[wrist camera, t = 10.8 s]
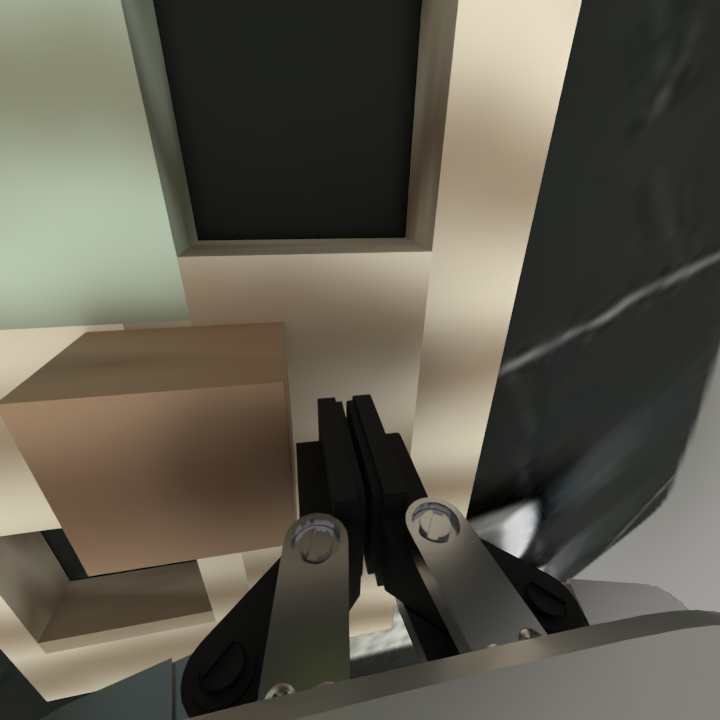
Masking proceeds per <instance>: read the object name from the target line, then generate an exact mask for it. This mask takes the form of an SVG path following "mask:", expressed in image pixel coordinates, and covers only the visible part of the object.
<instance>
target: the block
mask: <svg viewBox="0 0 720 720" xmlns="http://www.w3.org/2000/svg"><path fill="white" fill-rule="evenodd" d="M0 416H1V418H2V420H3V422H4V423H5V425H6V427H7V429H8V431H9V433H10V434H11V436H12V438H13V440H14V442H15V443H16V445H17V447H18V449H19V451H20V453H21V454H22V456H23V458H24V460H25V462H26V463H27V465H28V467H29V469H30V471H31V473H32V474H33V476H34V478H35V480H36V482H37V483H38V485H39V487H40V489H41V491H42V493H43V494H44V496H45V498H46V500H47V502H48V504H49V505H50V507H51V509H52V511H53V513H54V514H55V516H56V518H57V520H58V522H59V524H60V525H61V527H62V529H63V531H64V533H65V534H66V536H67V538H68V540H69V542H70V544H71V545H72V547H73V549H74V551H75V553H76V554H77V556H78V558H79V560H80V562H81V564H82V565H83V567H84V569H85V571H86V573H87V574H88V576H95V575H101V574H107V573H114V572H120V571H126V570H133V569H139V568H145V567H152V566H158V565H164V564H171V563H177V562H184V561H190V560H196V559H203V558H209V557H215V556H222V555H228V554H234V553H241V552H247V551H253V550H260V549H266V548H272V547H279V546H283V541H284V538H285V535H286V532H287V531H288V529H289V528H290V526H291V525H292V524H293V523H294V522H295V521H297V500H296V473H295V452H294V441H293V429H292V418H291V406H290V394H289V383H288V371H287V360H286V348H285V336H284V325H283V322H275V323H255V324H235V325H215V326H195V327H174V328H154V329H134V330H114V331H95V332H85V333H84V334H83V335H82V336H80V337H79V338H78V339H76V340H75V341H74V342H73V343H71V344H70V345H69V346H68V347H66V348H65V349H64V350H63V351H61V352H60V353H59V354H58V355H56V356H55V357H54V358H53V359H51V360H50V361H49V362H47V363H46V364H45V365H44V366H42V367H41V368H40V369H39V370H37V371H36V372H35V373H34V374H32V375H31V376H30V377H29V378H27V379H26V380H25V381H24V382H22V383H21V384H20V385H18V386H17V387H16V388H15V389H13V390H12V391H11V392H10V393H8V394H7V395H6V396H5V397H3V398H2V399H1V400H0Z"/></svg>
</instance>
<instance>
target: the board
mask: <svg viewBox="0 0 720 720" xmlns="http://www.w3.org/2000/svg"><path fill="white" fill-rule="evenodd" d="M581 1H582V0H422V9H421V23H420V37H419V51H418V65H417V79H416V94H415V108H414V122H413V136H412V150H411V164H410V178H409V193H408V207H407V221H406V235H405V238H351V239H280V240H209V241H198V238H197V233H196V228H195V222H194V217H193V212H192V206H191V201H190V196H189V190H188V185H187V180H186V174H185V169H184V164H183V158H182V153H181V148H180V142H179V137H178V132H177V126H176V121H175V116H174V110H173V105H172V100H171V94H170V89H169V84H168V78H167V73H166V68H165V62H164V57H163V52H162V46H161V41H160V36H159V30H158V25H157V20H156V14H155V9H154V4H153V0H0V400H1V399H2V398H3V397H5V396H6V395H7V394H8V393H10V392H11V391H12V390H13V389H15V388H16V387H17V386H18V385H20V384H21V383H22V382H24V381H25V380H26V379H27V378H29V377H30V376H31V375H32V374H34V373H35V372H36V371H37V370H39V369H40V368H41V367H42V366H44V365H45V364H46V363H47V362H49V361H50V360H51V359H53V358H54V357H55V356H56V355H58V354H59V353H60V352H61V351H63V350H64V349H65V348H66V347H68V346H69V345H70V344H71V343H73V342H74V341H75V340H76V339H78V338H79V337H80V336H82V335H83V334H84V333H85V332H95V331H114V330H134V329H154V328H174V327H195V326H215V325H235V324H255V323H275V322H283V325H284V336H285V348H286V360H287V371H288V383H289V394H290V406H291V418H292V429H293V441H294V452H295V473H296V500H297V520H298V519H299V497H298V475H297V453H296V443H302V442H311V441H319V431H318V404H317V399H319V398H331V397H335V400H336V402H338V401H342V403H343V407H344V411H345V415H346V402H347V401H349V400H352V397H353V396H355V395H366V394H370V395H371V397H372V400H373V402H374V405H375V407H376V410H377V412H378V415H379V418H380V420H381V423H382V425H383V428H384V430H385V433H386V434H387V433H397V432H398V433H399V434H400V435H401V437H402V439H403V441H404V444H405V446H406V448H407V450H408V453H409V455H410V457H411V459H412V462H413V464H414V466H415V468H416V471H417V473H418V475H419V477H420V480H421V482H422V484H423V486H424V488H425V491H426V493H427V495H428V497H433V498H440V499H442V500H445V501H448V502H449V503H451V504H452V505H454V506H455V507H456V508H457V509H458V510H459V511H460V512H461V513H462V514H463V516H464V517H465V519H466V515H467V510H468V506H469V501H470V497H471V492H472V488H473V484H474V479H475V475H476V470H477V466H478V461H479V457H480V452H481V448H482V443H483V439H484V434H485V430H486V425H487V421H488V417H489V412H490V408H491V403H492V399H493V394H494V390H495V385H496V381H497V376H498V372H499V367H500V363H501V358H502V354H503V350H504V345H505V341H506V336H507V332H508V327H509V323H510V318H511V314H512V309H513V305H514V300H515V296H516V291H517V287H518V283H519V278H520V274H521V269H522V265H523V260H524V256H525V251H526V247H527V242H528V238H529V233H530V229H531V224H532V220H533V216H534V211H535V207H536V202H537V198H538V193H539V189H540V184H541V180H542V175H543V171H544V166H545V162H546V157H547V153H548V149H549V144H550V140H551V135H552V131H553V126H554V122H555V117H556V113H557V108H558V104H559V99H560V95H561V90H562V86H563V82H564V77H565V73H566V68H567V64H568V59H569V55H570V50H571V46H572V41H573V37H574V32H575V28H576V23H577V19H578V15H579V10H580V6H581ZM57 528H62V527H61V525H60V524H59V522H58V520H57V518H56V516H55V514H54V513H53V511H52V509H51V507H50V505H49V504H48V502H47V500H46V498H45V496H44V494H43V493H42V491H41V489H40V487H39V485H38V483H37V482H36V480H35V478H34V476H33V474H32V473H31V471H30V469H29V467H28V465H27V463H26V462H25V460H24V458H23V456H22V454H21V453H20V451H19V449H18V447H17V445H16V443H15V442H14V440H13V438H12V436H11V434H10V433H9V431H8V429H7V427H6V425H5V423H4V422H3V420H2V418H1V416H0V649H1V650H2V651H3V652H4V653H5V655H6V656H7V657H8V658H9V659H10V660H11V661H12V663H13V664H14V665H15V666H16V667H17V668H18V669H19V670H20V672H21V673H22V674H23V675H24V676H25V677H26V678H27V680H28V681H29V682H30V683H31V684H32V685H33V686H34V687H35V689H36V690H37V691H38V692H39V693H40V694H41V695H42V696H43V698H44V699H45V700H46V701H52V700H57V699H61V698H66V697H71V696H75V695H80V694H85V693H90V692H94V691H98V690H100V689H102V688H105V687H107V686H109V685H111V684H114V683H116V682H118V681H120V680H123V679H125V678H127V677H129V676H132V675H134V674H136V673H138V672H141V671H143V670H145V669H147V668H150V667H152V666H154V665H156V664H159V663H161V662H163V661H165V660H168V659H170V658H172V659H173V661H174V662H175V661H177V660H179V659H182V658H184V657H186V656H188V655H190V654H192V653H193V652H194V651H195V649H196V648H197V647H198V645H199V644H200V643H201V642H202V641H203V639H204V638H205V637H206V636H207V635H208V634H209V633H210V632H211V631H212V630H213V629H214V628H215V627H216V625H217V624H218V623H219V622H220V621H221V620H222V619H223V618H224V617H225V616H226V615H227V614H228V613H229V612H230V610H231V609H232V608H233V607H234V606H235V605H236V604H237V603H238V602H239V601H240V600H241V599H242V598H243V597H244V595H245V594H246V593H247V592H248V591H249V590H250V589H251V588H252V587H253V586H254V585H255V584H256V583H257V581H258V580H259V579H260V578H261V577H262V576H263V575H264V574H265V573H266V572H267V571H268V570H269V569H270V568H271V566H272V565H273V564H274V563H275V562H276V561H277V560H278V559H279V558H280V557H281V553H282V547H283V546H279V547H272V548H266V549H260V550H253V551H247V552H241V553H234V554H228V555H222V556H215V557H209V558H203V559H197V561H192V562H186V563H180V564H174V565H167V566H161V567H155V568H149V569H143V570H137V571H130V572H124V573H118V574H112V575H106V576H99V577H93V578H87V579H81V580H75V581H70V580H69V578H68V577H67V575H66V573H65V572H64V570H63V568H62V567H61V565H60V563H59V562H58V560H57V558H56V557H55V555H54V554H53V552H52V550H51V549H50V547H49V545H48V544H47V542H46V540H45V539H44V537H43V535H42V534H41V532H40V531H43V530H50V529H57ZM394 606H395V597H394V596H392V595H391V594H389V593H388V592H386V591H385V589H384V586H379V587H378V586H377V582H376V577H375V574H370V575H368V573H367V569H366V564H365V559H364V556H363V575H362V576H361V587H360V596H359V598H358V599H357V601H356V602H355V604H354V605H353V607H352V608H351V610H350V611H349V637H354V636H358V635H363V634H368V633H373V632H377V631H382V630H387V629H391V628H392V625H393V616H394Z"/></svg>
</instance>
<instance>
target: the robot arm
mask: <svg viewBox="0 0 720 720" xmlns="http://www.w3.org/2000/svg"><path fill="white" fill-rule="evenodd" d="M317 404H318V431H319V441H311V442H302V443H296V453H297V475H298V497H299V519H298V520H297V521H295V522H294V523H293V524H292V525H291V526H290V528H289V529H288V531H287V532H286V535H285V538H284V541H283V547H282V553H281V557H280V558H279V559H278V560H277V561H276V562H275V563H274V564H273V565H272V566H271V568H270V569H269V570H268V571H267V572H266V573H265V574H264V575H263V576H262V577H261V578H260V579H259V580H258V581H257V583H256V584H255V585H254V586H253V587H252V588H251V589H250V590H249V591H248V592H247V593H246V594H245V595H244V597H243V598H242V599H241V600H240V601H239V602H238V603H237V604H236V605H235V606H234V607H233V608H232V609H231V610H230V612H229V613H228V614H227V615H226V616H225V617H224V618H223V619H222V620H221V621H220V622H219V623H218V624H217V625H216V627H215V628H214V629H213V630H212V631H211V632H210V633H209V634H208V635H207V636H206V637H205V638H204V639H203V641H202V642H201V643H200V644H199V645H198V647H197V648H196V649H195V651H194V652H193V653H192V654H190V655H188V656H186V657H184V658H182V659H179V660H177V661H175V662H174V661H173V659H172V658H170V659H168V660H165V661H163V662H161V663H159V664H156V665H154V666H152V667H150V668H147V669H145V670H143V671H141V672H138V673H136V674H134V675H132V676H129V677H127V678H125V679H123V680H120V681H118V682H116V683H114V684H111V685H109V686H107V687H105V688H102V689H100V690H98V691H96V692H93V693H91V694H89V695H87V696H84V697H82V698H80V699H78V700H75V701H73V702H71V703H69V704H66V705H64V706H62V707H60V708H58V709H56V710H54V711H53V712H51V713H50V714H48V715H46V716H45V717H43V718H41V719H40V720H720V612H715V611H702V610H688V608H687V607H686V606H685V605H684V604H683V603H682V602H681V601H679V600H678V599H677V598H676V597H674V596H672V594H670V593H668V592H666V591H664V590H662V589H660V588H659V587H656V586H651V585H647V584H636V583H621V582H607V581H592V580H578V579H568V580H567V582H566V583H561V582H560V581H558V580H557V579H555V578H554V577H552V576H551V575H549V574H547V573H545V572H543V571H541V570H539V569H537V568H536V567H534V566H532V565H530V564H528V563H526V562H524V561H522V560H520V559H519V558H517V557H515V556H513V555H511V554H509V553H507V552H505V551H503V550H502V549H500V548H498V547H496V546H494V545H492V544H490V543H488V542H486V541H484V540H483V539H481V538H479V537H478V536H477V534H476V533H475V531H474V530H473V529H472V527H471V526H470V524H469V523H468V522H467V520H466V519H465V517H464V516H463V514H462V513H461V512H460V511H459V510H458V509H457V508H456V507H455V506H454V505H452V504H451V503H449V502H448V501H445V500H442V499H440V498H433V497H428V495H427V493H426V491H425V488H424V486H423V484H422V482H421V480H420V477H419V475H418V473H417V471H416V468H415V466H414V464H413V462H412V459H411V457H410V455H409V453H408V450H407V448H406V446H405V444H404V441H403V439H402V437H401V435H400V434H399V433H398V432H397V433H387V434H386V433H385V430H384V428H383V425H382V423H381V420H380V418H379V415H378V412H377V410H376V407H375V405H374V402H373V400H372V397H371V395H370V394H366V395H355V396H353V397H352V400H349V401H347V402H346V415H345V411H344V407H343V403H342V401H338V402H336V400H335V397H331V398H319V399H317ZM363 556H364V559H365V564H366V569H367V573H368V575H370V574H375V577H376V582H377V586H378V587H379V586H384V589H385V591H386V592H388V593H389V594H391V595H392V596H394V597H395V598H396V602H397V606H398V609H399V612H400V614H401V617H402V619H403V622H404V624H405V626H406V629H407V631H408V634H409V636H410V639H411V641H412V644H413V646H414V648H415V651H416V653H417V656H418V658H419V661H420V663H421V664H416V665H412V666H408V667H403V668H399V669H394V670H390V671H386V672H381V673H377V674H373V675H368V676H364V677H360V678H355V679H351V680H350V649H349V611H350V610H351V608H352V607H353V605H354V604H355V602H356V601H357V599H358V598H359V596H360V587H361V576H362V575H363Z"/></svg>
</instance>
